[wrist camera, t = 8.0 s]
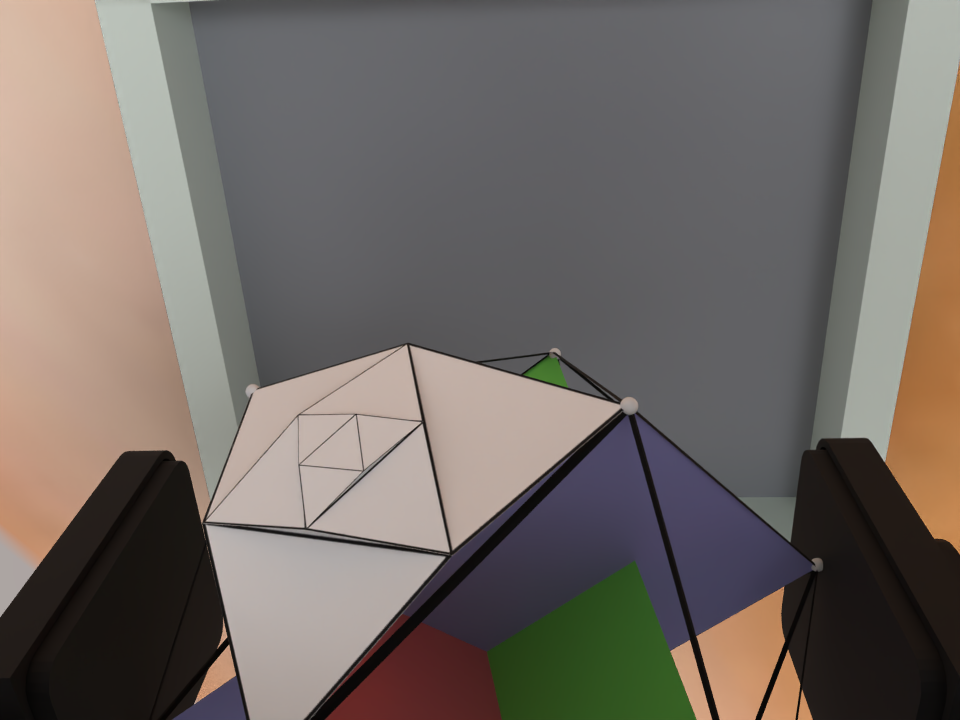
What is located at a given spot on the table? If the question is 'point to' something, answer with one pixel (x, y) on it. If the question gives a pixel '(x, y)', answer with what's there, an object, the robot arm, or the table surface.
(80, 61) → the table surface
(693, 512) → the geometric puzzle
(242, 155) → the shallow square tray
